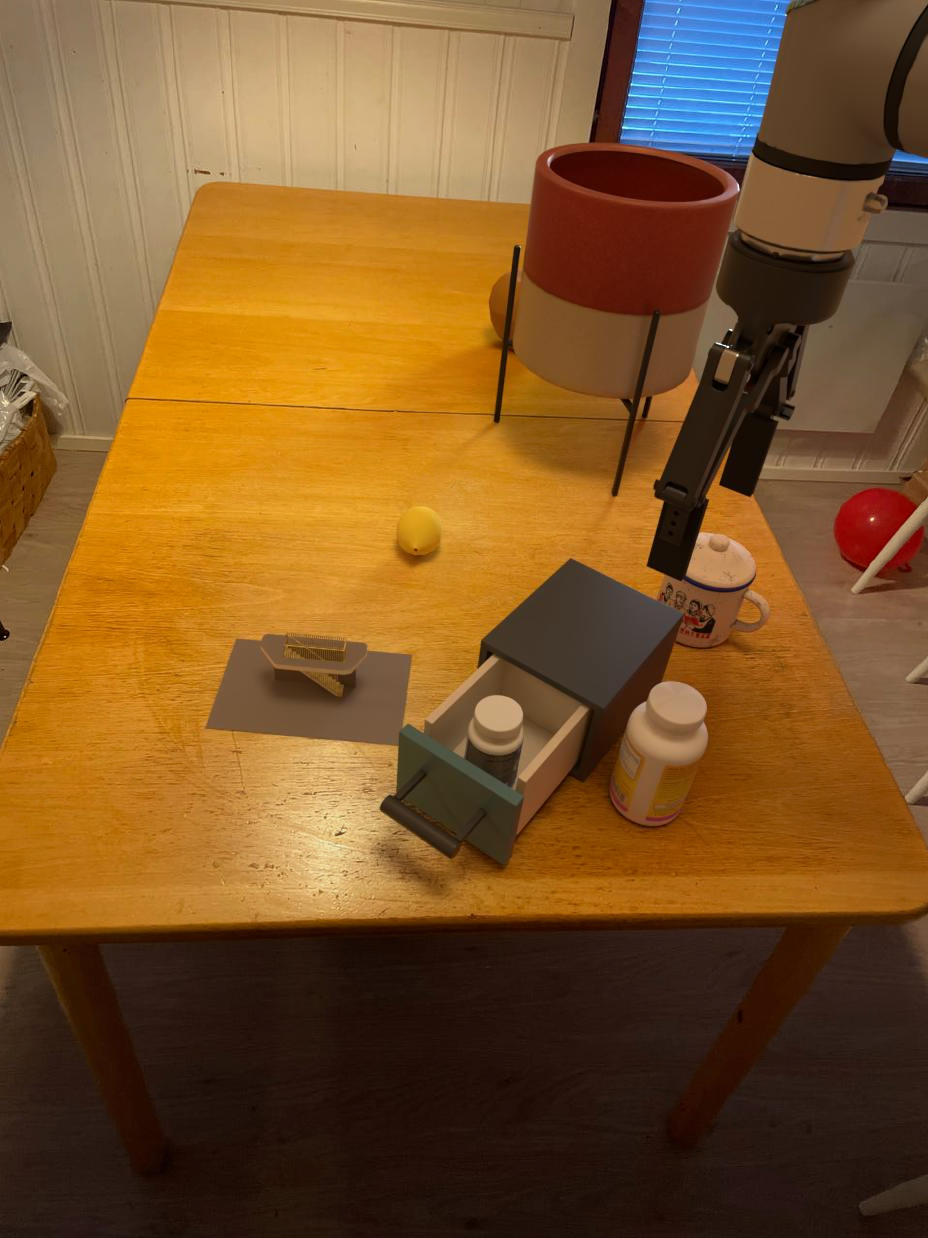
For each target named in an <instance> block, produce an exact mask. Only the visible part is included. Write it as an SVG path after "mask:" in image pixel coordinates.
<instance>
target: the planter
mask: <svg viewBox="0 0 928 1238" xmlns="http://www.w3.org/2000/svg"><path fill="white" fill-rule="evenodd" d="M739 193H740V186H739V183H738V181H737V180H736V178H735V177H733V176H732V175H731V174H730V173H729V172H727V171H725V170H724V169H722V168H720V167H718V166H716V165H714V164H712V163H710V162H707V161H705V160H702V159H699V158H697V157H694V156H690V155H686V154H683V153H680V152H676V151H671V150H667V149H662V148H658V147H651V146H644V145H638V144H628V143H619V142H618V143H617V142H577V143H568V144H563V145H558V146H553V147H552V148H549V149H546V150H545V151H543V152H542V153H540V154H539V155H538V156H537V158H536V161H535V165H534V174H533V183H532V190H531V198H530V206H529V215H528V220H527V221H528V222H527V223H528V224H527V230H526V238H525V240H526V241H525V245H524V246H525V247H524V254H523V262H522V268H521V269H522V277H521V285H520V293H519V301H518V309H517V317H516V322H515V327H514V334H513V340H510V333H511V325H512V317H513V308H514V300H515V292H516V284H517V275H518V270H519V268H520V267H519V266H520V258H521V250H522V246H521V245H518V244H515V245H514V246H513V249H512V250H513V251H512V260H511V269H510V272H511V276H510V285H509V293H508V302H507V311H506V319H505V328H504V337H503V342H502V347H501V355H500V363H499V372H498V381H497V390H496V397H495V398H496V399H495V408H494V415H493V422H494V423H500V421H501V416H502V415H501V414H502V405H503V399H504V390H505V381H506V373H507V365H508V356H509V349H510V348H509V347H513V349H514V350H513V349H512V350H513V352H514V354H515V356H516V358H517V359H518V361H519V362H520V363H521V364H522V366H524V368H526V369H527V370H528V371H529V372H531V373H532V374H534V375H535V376H537V377H538V378H540V379H541V380H542V381H545V382H547V383H549V384H551V385H554V386H556V387H559V388H560V389H563V390H567V391H569V392H572V393H576V394H580V395H584V396H590V397H596V398H601V399H611V400H613V399H614V400H620V401H621V403H622V405H623V406H624V407H625V409H626V410H627V412H628V413H629V414H628V419H627V424H626V427H625V432H624V437H623V441H622V445H621V449H620V453H619V454H620V455H619V458H618V462H617V465H616V471H615V475H614V479H613V483H612V488H611V495H612V496H613V497H617V496H619V491H620V486H621V483H622V478H623V475H624V470H625V466H626V463H627V457H628V453H629V450H630V445H631V440H632V436H633V433H634V432H633V431H634V429H635V424H636V419H637V414H638V411H639V406H640V402H641V399H644V398H645V399H644V403H643V408H642V412H641V418H642V419H647V418H648V416H649V412H650V409H651V404H652V401H653V397H655V396H657V395H662V394H665V393H668V392H670V391H672V390H674V389H677V388H678V387H679V386H681V385H682V384H683V383H685V382H686V380H687V379H688V378H689V376H690V374H691V372H692V369H693V365H694V362H695V358H696V353H697V347H698V344H699V340H700V336H701V333H702V329H703V325H704V323H705V318H706V315H707V310H708V307H709V304H710V300H711V296H712V293H713V289H714V286H715V282H716V278H717V276H718V272H719V271H718V270H719V268H720V265H721V264H720V263H721V261H722V260H721V259H722V257H723V254H724V253H723V252H724V250H725V249H724V248H725V246H726V243H727V239H728V235H729V230H730V228H731V223H732V221H733V215H734V211H735V208H736V204H737V201H738V197H739ZM631 400H632V401H631Z"/></svg>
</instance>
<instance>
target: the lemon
mask: <svg viewBox="0 0 928 1238" xmlns="http://www.w3.org/2000/svg"><path fill="white" fill-rule="evenodd" d="M395 533H396V534H395V535H396V540H397V541H398V545H399V546H400V548H401V549H402V550H403V551H404V552H405V553H408V554H411V555H413V556H424V555H427V554H429V553H431V552H433V551H435V549H436V548H437V547H438V546H439V545H440V543H441V542H442V538H443V534H444V527H443V523H442V520H441V518H440V516H439V515H438V514H437V512H436V511H435V510H433V509H432V508H430V507H428V506H424V505H422V506H421V505H417V506H412V507H408V509H406V510H405V511H404V512H403V513H402V514H401V516H400V518H399V519H398V521H397V523H396V532H395Z"/></svg>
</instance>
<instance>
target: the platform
mask: <svg viewBox="0 0 928 1238" xmlns="http://www.w3.org/2000/svg"><path fill="white" fill-rule="evenodd" d="M331 638H332V639H331ZM412 657H413V654H409V653H399V652H386V651H377V650H368V644H367V643H366V642H363V641H350V640H348V637H346V636H337V635H336V636H333V635H323V634H313V633H303V632H302V633H301V632H293V631H286V632H285V634H276V633H275V634H274V633H266V634H263V635H262V638H261V640H257V639H249V638H248V639H246V638H237V637H236V638H235V641H234V644H233V647H232V649H231V653H230V655H229V659H228V661H227V665H226V666H225V669H224V673H223V676H222V679H221V681H220V685H219V687H218V690H217V693H216V696H215V697H214V700H213V701H214V702H213V704H212V707H211V710H210V712H209V716H208V718H207V722H206V724H205V727H204V728H205V729H214V730H225V731H235V732H236V731H237V732H246V733H257V734H258V733H259V734H267V735H268V734H269V735H277V736H291V737H300V738H301V737H302V738H313V739H322V740H323V739H324V740H335V741H344V742H355V743H365V744H367V743H368V744H378V745H390V746H398V743H399V731H400V730H401V729H402V728H403V727H404V726H403V725H404V720H405V719H404V718H405V712H406V704H407V696H408V688H409V681H410V673H411V666H412V659H413V658H412Z"/></svg>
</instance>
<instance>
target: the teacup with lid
mask: <svg viewBox="0 0 928 1238" xmlns="http://www.w3.org/2000/svg"><path fill="white" fill-rule="evenodd" d="M756 577H757V565H756V561H755V559H754V556H753V555H752V554H751V553H750V552H749V550H748V549H746V547H744V545H742V544H741V543H739V542H737V541H735V540H734V539H731V538H729V537H728V536H726V534H722V533H712V532H699V535H698V538H697V541H696V544H695V547H694V551H693V554H692V557H691V560H690V563H689V567H688V570H687V573H686V576H685V578H684V579H683V580H682V581H679V580H676V579H674V578H672V577H670V576H667V575H665V574H663V578H662V582H661V585H660V587H659V591H658V595H657V597H656V600H657V601H659V602H661V603H664V604H666V605H668V606H670V607H672V608H674V609H676V610H678V611H680V612H682V613H684V617H683V620H682V622H681V625H680V628H679V631H678V634H677V637H676V640H675V642H677V643H680V644H682V645H683V646H684V645H685V646H689V647H694V648H710V647H715V646H718V645H720V644H722V643H723V642H725V641H726V640H727V639H729V638H730V635H731V633H732V631H733V629H734V630H736V631H738V632H742V633H754V632H757V631H759V630H760V629H762V628H763V627H764V626H765V625H766V623H767V622H768V621H769V619H770V616H771V607H770V605H769V603H768V601H767V600H766V599H765V598H764V597H763V596H762V595H761V594H759V593H757V592H755V591H753V590H752V589H750V585H752V584H753V583H754V581H755V579H756ZM744 601H749V602H750V603H752V604H754V605H755V606H756V607H757V608H758V611H759V613H760V618H759V620H758V621H755V622H751V623H750V622H746V621H742V620H740V619H738V615H739V613H740V610H741V609H742V606H743V603H744Z"/></svg>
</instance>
